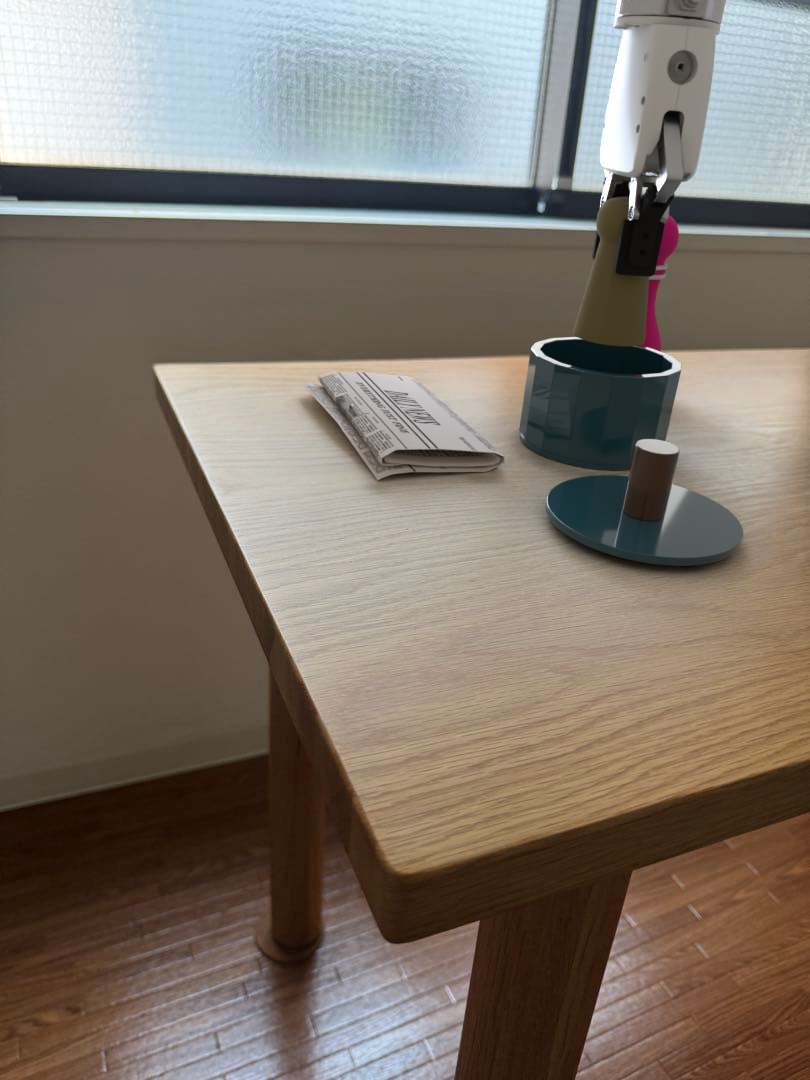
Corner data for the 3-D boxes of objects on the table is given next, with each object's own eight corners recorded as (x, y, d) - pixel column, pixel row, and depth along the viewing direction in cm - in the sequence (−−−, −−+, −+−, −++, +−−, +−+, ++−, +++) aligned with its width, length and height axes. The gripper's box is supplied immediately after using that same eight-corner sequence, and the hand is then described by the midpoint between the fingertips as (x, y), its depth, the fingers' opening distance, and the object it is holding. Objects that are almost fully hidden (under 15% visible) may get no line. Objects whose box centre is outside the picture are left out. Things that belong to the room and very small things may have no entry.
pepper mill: (593, 376, 97) (628, 187, 87) (657, 389, 94) (699, 195, 85) (576, 391, 91) (611, 190, 82) (643, 405, 88) (687, 198, 79)
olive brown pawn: (600, 325, 76) (623, 193, 71) (658, 341, 72) (688, 202, 67) (558, 332, 72) (580, 193, 67) (617, 349, 68) (645, 203, 63)
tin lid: (693, 491, 68) (712, 417, 65) (774, 576, 56) (801, 489, 53) (526, 486, 66) (537, 409, 64) (572, 571, 54) (588, 482, 52)
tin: (634, 423, 83) (651, 341, 79) (683, 473, 71) (705, 380, 68) (507, 417, 81) (518, 333, 78) (537, 467, 70) (551, 372, 66)
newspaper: (298, 391, 84) (301, 366, 83) (414, 400, 88) (418, 376, 87) (360, 479, 64) (365, 448, 63) (504, 485, 69) (511, 456, 68)
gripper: (774, 1, 54) (707, 292, 62) (676, 22, 69) (632, 254, 77) (661, -11, 53) (608, 285, 61) (586, 13, 68) (551, 249, 77)
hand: (622, 265), depth 69 cm, fingers closed on olive brown pawn, 5 cm apart
